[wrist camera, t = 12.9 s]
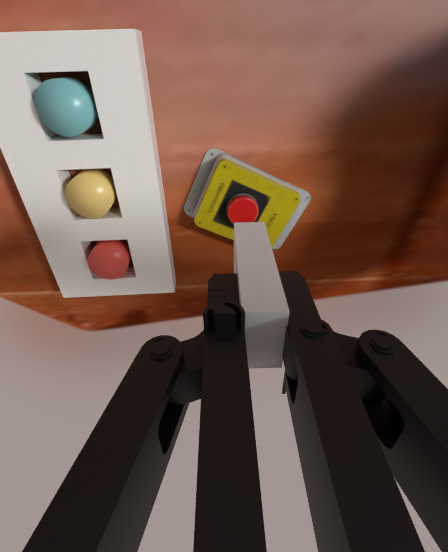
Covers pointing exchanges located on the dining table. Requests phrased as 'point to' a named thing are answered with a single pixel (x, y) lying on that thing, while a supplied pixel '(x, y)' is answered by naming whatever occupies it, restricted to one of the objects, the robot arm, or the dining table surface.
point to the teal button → (66, 106)
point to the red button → (109, 258)
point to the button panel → (88, 157)
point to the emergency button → (243, 198)
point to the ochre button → (91, 193)
